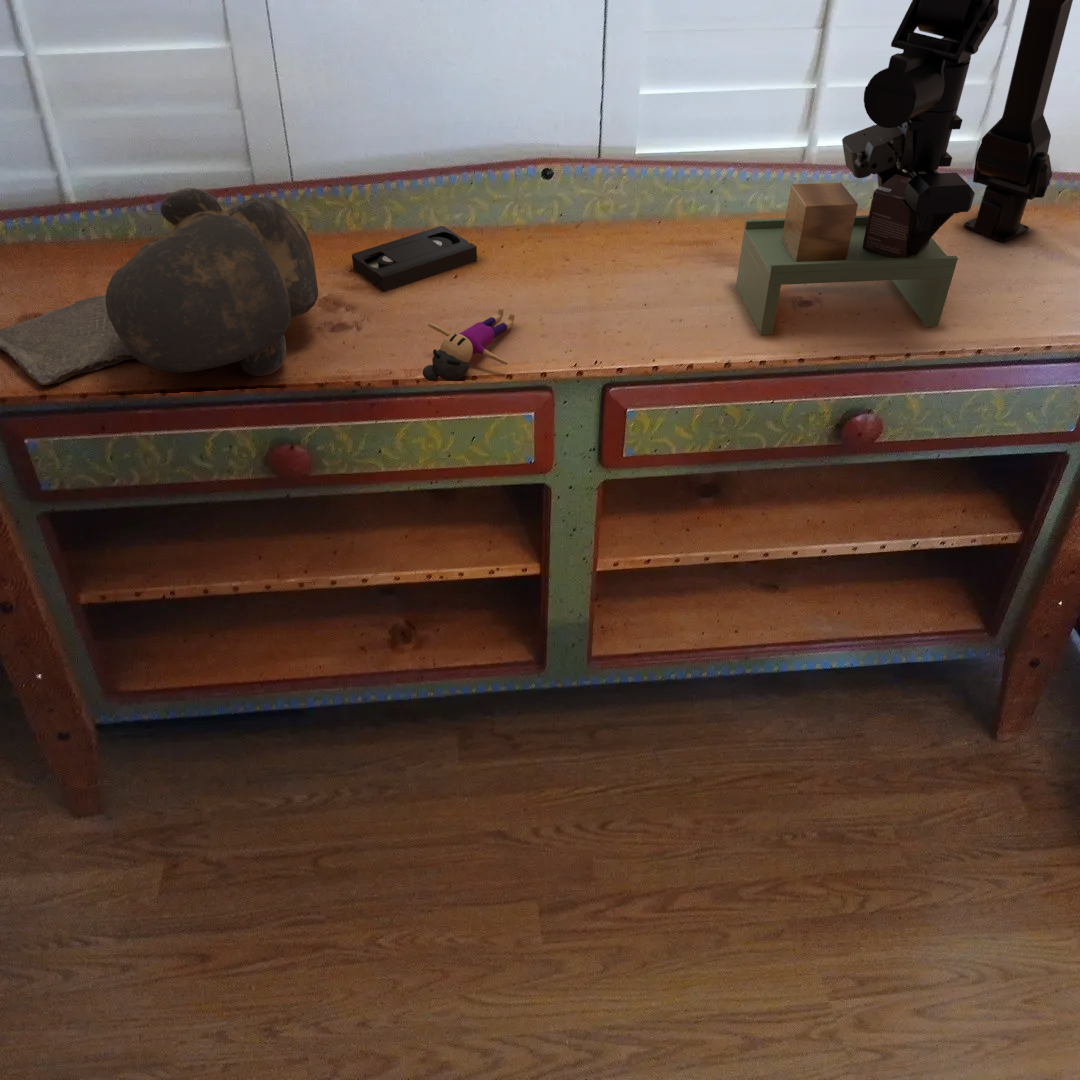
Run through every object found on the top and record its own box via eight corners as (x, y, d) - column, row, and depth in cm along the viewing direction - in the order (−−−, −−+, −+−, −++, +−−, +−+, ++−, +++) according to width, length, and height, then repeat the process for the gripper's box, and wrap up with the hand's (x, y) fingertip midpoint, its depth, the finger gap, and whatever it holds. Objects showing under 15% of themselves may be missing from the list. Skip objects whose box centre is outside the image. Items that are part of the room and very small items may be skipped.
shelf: (902, 279, 138) (919, 213, 132) (938, 326, 129) (958, 257, 123) (735, 286, 136) (745, 219, 130) (760, 335, 127) (771, 265, 121)
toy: (547, 324, 125) (488, 365, 113) (535, 364, 128) (476, 409, 116) (472, 287, 127) (406, 324, 115) (461, 327, 130) (396, 367, 118)
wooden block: (829, 239, 128) (841, 182, 124) (845, 262, 124) (858, 204, 119) (781, 240, 128) (791, 184, 123) (795, 264, 123) (806, 206, 118)
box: (929, 246, 127) (945, 186, 122) (908, 264, 123) (923, 203, 118) (881, 231, 130) (895, 172, 125) (859, 249, 126) (873, 189, 121)
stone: (173, 330, 121) (51, 384, 113) (178, 352, 123) (58, 406, 115) (93, 278, 129) (-27, 325, 121) (99, 299, 131) (-18, 346, 123)
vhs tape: (443, 238, 145) (442, 225, 143) (477, 260, 140) (476, 246, 139) (351, 268, 138) (350, 254, 137) (384, 292, 133) (382, 277, 132)
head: (251, 151, 125) (49, 239, 117) (310, 136, 106) (76, 240, 98) (328, 314, 135) (146, 407, 126) (395, 327, 116) (187, 437, 108)
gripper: (831, 76, 122) (807, 207, 132) (889, 137, 108) (857, 278, 118) (925, 73, 123) (894, 203, 133) (994, 134, 109) (953, 274, 119)
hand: (897, 238), depth 126 cm, fingers closed on box, 8 cm apart
